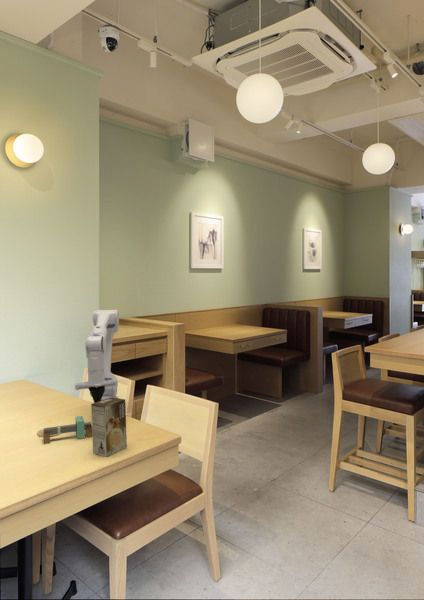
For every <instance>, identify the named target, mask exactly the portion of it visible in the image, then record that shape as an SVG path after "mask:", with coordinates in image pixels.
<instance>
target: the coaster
mask: <svg viewBox="0 0 424 600" xmlns="http://www.w3.org/2000/svg"><path fill="white" fill-rule="evenodd" d="M43 430H44V428H42V429H40V430H38V431H37V432H36V435H37V437H39V438H43ZM60 435H61V434H59V435H58V434H55V435H50V438H52V437H58V436H60Z"/></svg>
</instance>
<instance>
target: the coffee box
mask: <svg viewBox="0 0 424 600" xmlns="http://www.w3.org/2000/svg"><path fill="white" fill-rule="evenodd" d="M126 414H127V413H126V399H123V398H120V397H119V398H113V397H111V398H108V399H105V400H102V401H99V402H96V403H94V402H93V403H91V425H92V436H93V437H92V453H93V454H94V455H99V456H102V457H106V458H107V457H110V456H112V455H114V454H116V453H119V451H122V450H123V449H126V448H128V445H127V444H128V443H127V418H126V417H127V415H126Z"/></svg>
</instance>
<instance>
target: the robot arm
mask: <svg viewBox="0 0 424 600" xmlns="http://www.w3.org/2000/svg"><path fill="white" fill-rule="evenodd" d="M92 322H93V327H92V329H91V332H90V335H89V336H88V337H86V339H85V341H84V347H85V353H86V354H85V357H86V358H87V381H83V382H77V383H74V389H75V391H79V390H86V389H88V391H89V395H90V396H91V398H92V401H93V403H96V402H99V401H102V400H105V399H108V398H111V397H113V398H119V399H120V397H119V396H117V394H118V384H119V383H118V382H119V381H118V378H117V376H116V375H115V374H114V373H112V371H111V368H112V352H113V351H112V349H113V340H114V339H113V338H114V335H115V333H118V331H119V328H120V327H119V325H120V313H119V310H118V309H105V310H104V309H94V311H93V312H92Z"/></svg>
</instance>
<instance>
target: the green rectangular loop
mask: <svg viewBox="0 0 424 600" xmlns="http://www.w3.org/2000/svg"><path fill="white" fill-rule="evenodd" d="M84 423H85V419H84V416H83V415H77V416H75V424H77V431H76V432H75V436H76V439H77V440H79V439H85V437H86V433H85V428H84Z"/></svg>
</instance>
